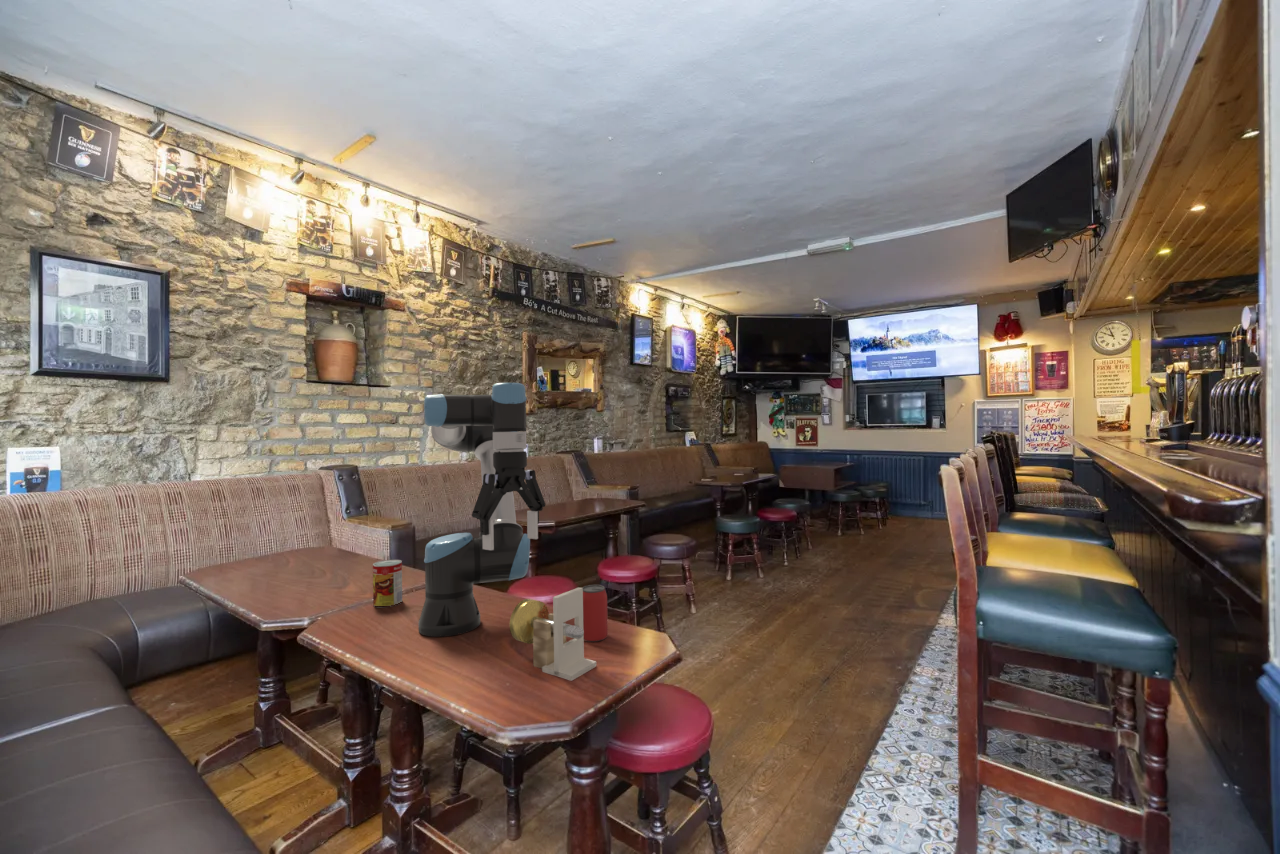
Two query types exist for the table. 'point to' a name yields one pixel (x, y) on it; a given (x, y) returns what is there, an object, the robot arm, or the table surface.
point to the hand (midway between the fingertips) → (511, 543)
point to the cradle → (543, 643)
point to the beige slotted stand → (571, 653)
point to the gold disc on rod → (531, 611)
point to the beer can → (595, 613)
